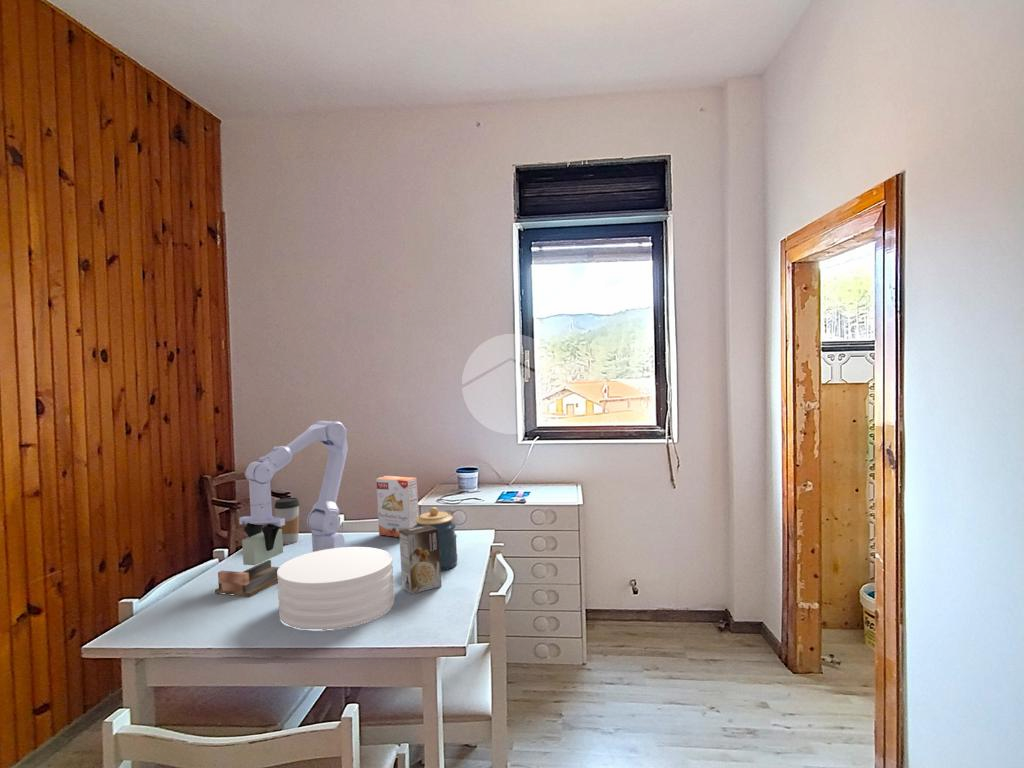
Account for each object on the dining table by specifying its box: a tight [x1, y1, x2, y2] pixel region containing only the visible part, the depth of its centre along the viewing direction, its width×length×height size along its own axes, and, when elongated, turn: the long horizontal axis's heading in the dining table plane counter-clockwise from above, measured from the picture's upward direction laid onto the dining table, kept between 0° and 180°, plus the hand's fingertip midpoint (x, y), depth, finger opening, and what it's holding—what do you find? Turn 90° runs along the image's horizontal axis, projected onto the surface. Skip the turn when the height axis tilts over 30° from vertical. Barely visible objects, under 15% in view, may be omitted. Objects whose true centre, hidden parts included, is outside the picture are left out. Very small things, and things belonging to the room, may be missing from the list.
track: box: [214, 559, 280, 597], centre depth 178 cm, size 12×20×6 cm, turn 162°
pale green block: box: [241, 529, 284, 566], centre depth 181 cm, size 4×12×7 cm, turn 162°
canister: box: [413, 506, 458, 572], centre depth 187 cm, size 13×13×18 cm
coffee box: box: [398, 525, 442, 595], centre depth 169 cm, size 9×6×16 cm
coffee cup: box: [274, 497, 300, 545], centre depth 219 cm, size 8×8×15 cm
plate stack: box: [277, 546, 395, 630], centre depth 157 cm, size 28×28×12 cm
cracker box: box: [376, 475, 420, 538], centre depth 221 cm, size 14×6×21 cm, turn 62°
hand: (263, 549), depth 181 cm, fingers closed on pale green block, 4 cm apart
